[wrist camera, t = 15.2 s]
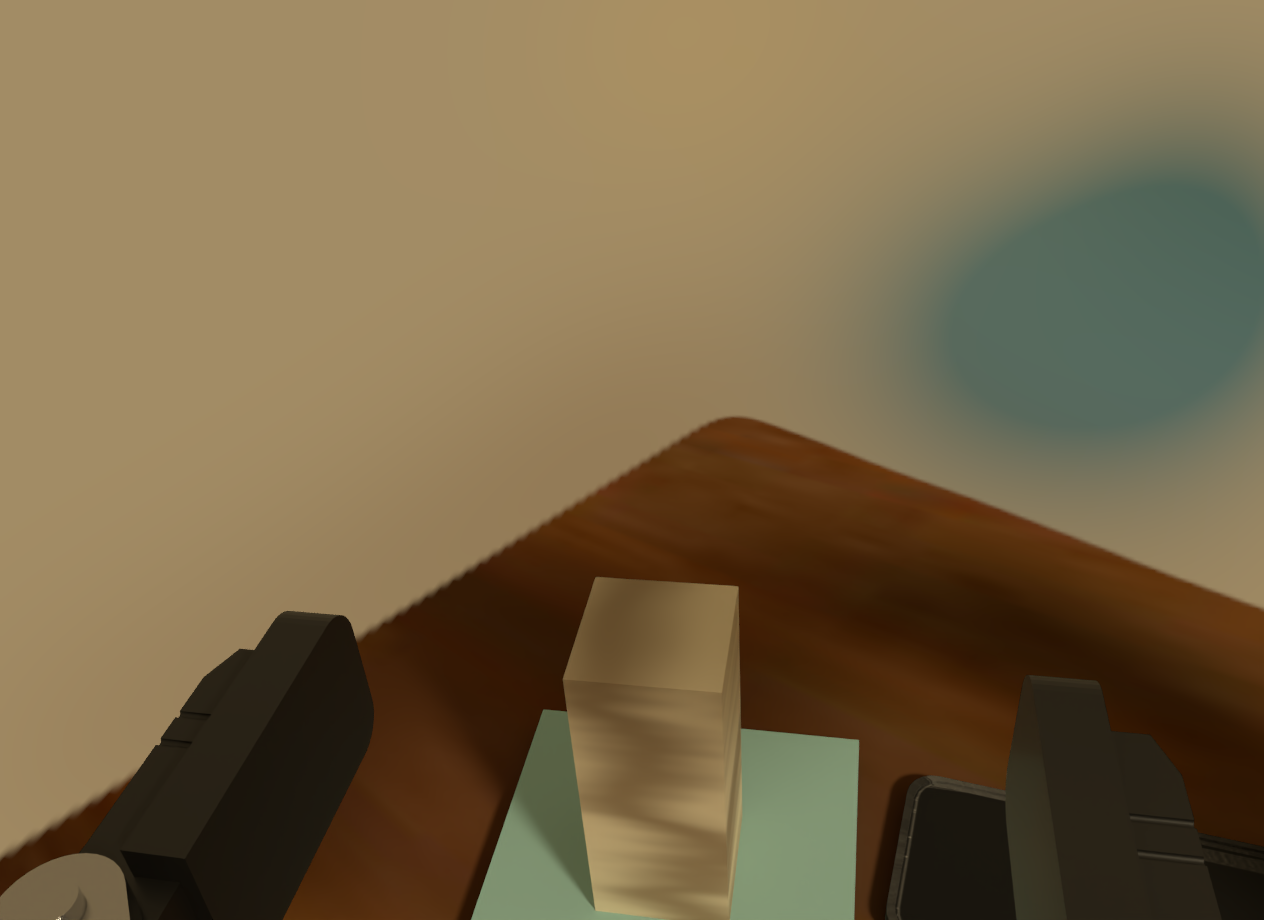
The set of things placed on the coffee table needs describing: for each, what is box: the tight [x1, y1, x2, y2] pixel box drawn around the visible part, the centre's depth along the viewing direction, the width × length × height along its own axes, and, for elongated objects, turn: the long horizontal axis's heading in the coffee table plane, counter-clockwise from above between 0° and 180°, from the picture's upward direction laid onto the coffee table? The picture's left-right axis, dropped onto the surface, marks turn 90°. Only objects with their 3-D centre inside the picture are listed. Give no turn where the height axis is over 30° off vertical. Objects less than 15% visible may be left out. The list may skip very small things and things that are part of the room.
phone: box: [885, 776, 1264, 920], centre depth 41 cm, size 8×1×15 cm
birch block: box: [563, 577, 742, 920], centre depth 39 cm, size 5×5×12 cm
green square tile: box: [471, 709, 859, 920], centre depth 43 cm, size 14×14×1 cm
